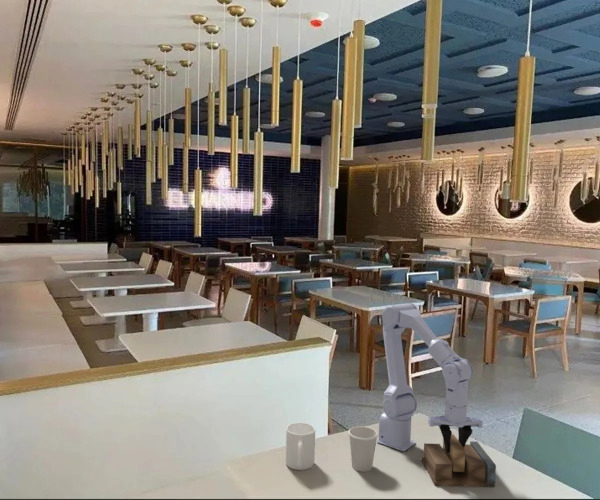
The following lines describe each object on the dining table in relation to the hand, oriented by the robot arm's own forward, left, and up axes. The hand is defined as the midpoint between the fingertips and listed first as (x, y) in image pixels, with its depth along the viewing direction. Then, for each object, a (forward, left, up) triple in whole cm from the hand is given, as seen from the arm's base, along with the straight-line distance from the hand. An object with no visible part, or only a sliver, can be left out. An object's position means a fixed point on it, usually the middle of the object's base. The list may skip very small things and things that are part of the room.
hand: (453, 451), depth 140 cm
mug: (-34, -26, -6) cm, 43 cm away
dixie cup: (-21, -14, -6) cm, 26 cm away
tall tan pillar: (0, 0, -3) cm, 3 cm away
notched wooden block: (0, 0, -6) cm, 6 cm away
